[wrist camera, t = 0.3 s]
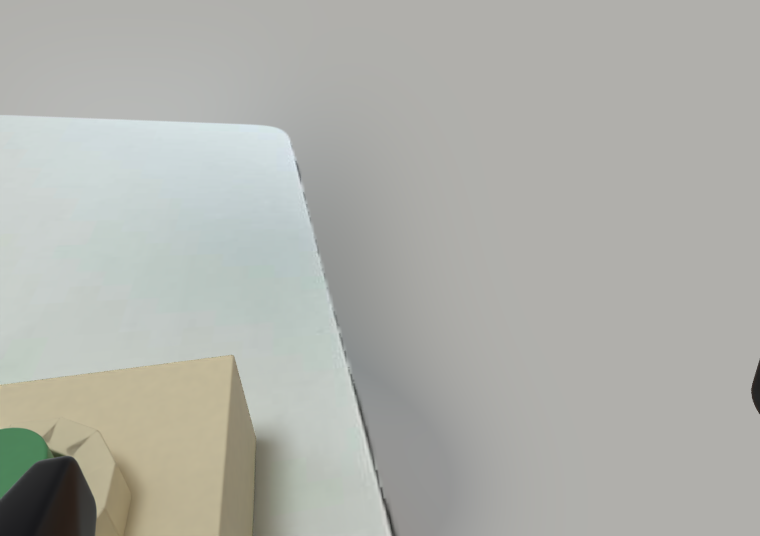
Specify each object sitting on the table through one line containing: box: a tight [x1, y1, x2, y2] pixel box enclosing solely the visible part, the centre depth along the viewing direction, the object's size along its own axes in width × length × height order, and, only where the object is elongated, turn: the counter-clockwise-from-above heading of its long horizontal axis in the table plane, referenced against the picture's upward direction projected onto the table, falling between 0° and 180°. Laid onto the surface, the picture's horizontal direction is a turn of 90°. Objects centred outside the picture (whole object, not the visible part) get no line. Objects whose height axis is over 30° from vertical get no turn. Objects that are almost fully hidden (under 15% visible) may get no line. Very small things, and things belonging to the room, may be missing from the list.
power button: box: [0, 428, 54, 499], centre depth 20 cm, size 3×3×2 cm
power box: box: [0, 355, 256, 536], centre depth 24 cm, size 10×12×7 cm
